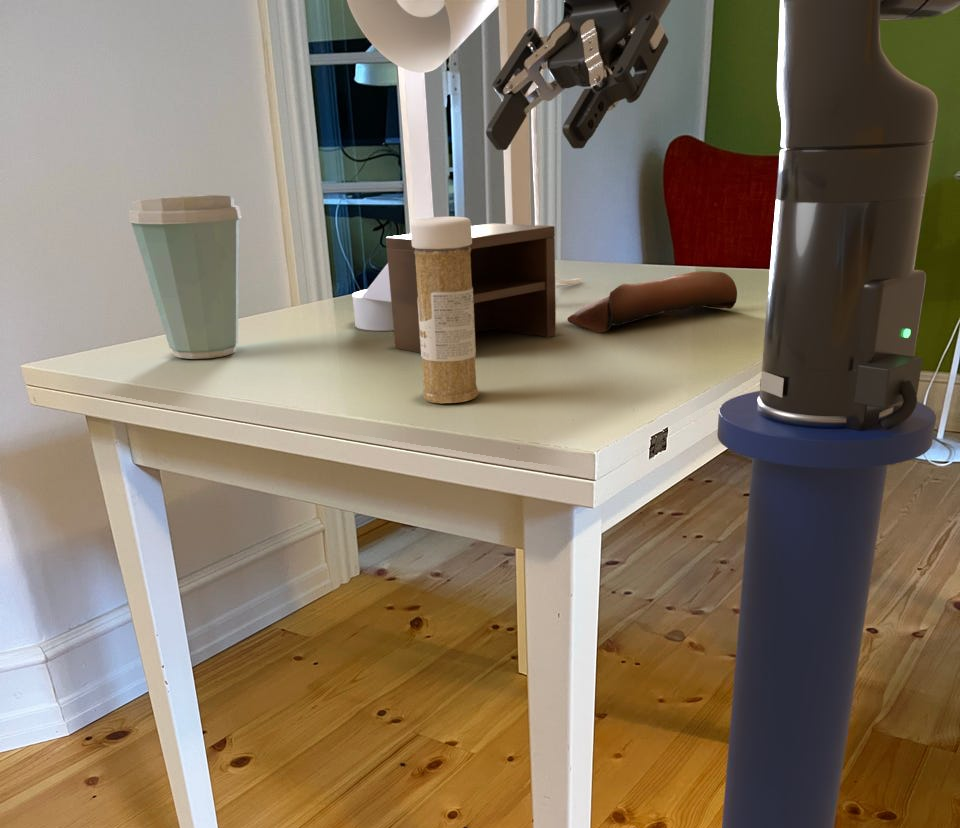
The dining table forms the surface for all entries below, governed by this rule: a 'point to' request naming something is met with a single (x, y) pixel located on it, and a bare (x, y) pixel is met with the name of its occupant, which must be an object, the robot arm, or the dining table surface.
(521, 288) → the shelf
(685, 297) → the sunglasses case
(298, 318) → the dining table surface
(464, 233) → the sprinkles bottle
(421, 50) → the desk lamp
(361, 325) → the wedge on round base
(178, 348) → the disposable coffee cup
